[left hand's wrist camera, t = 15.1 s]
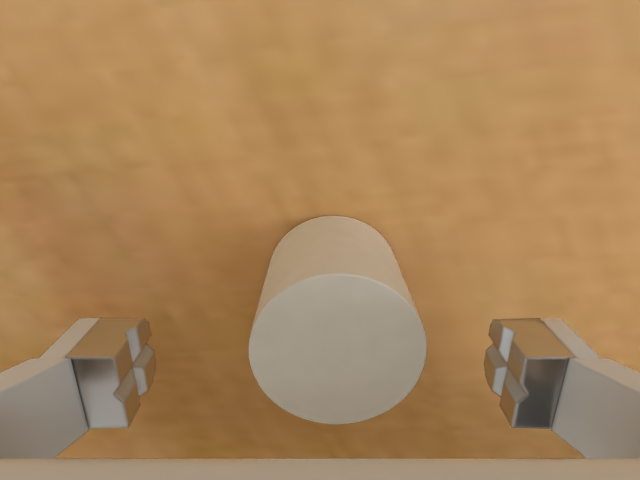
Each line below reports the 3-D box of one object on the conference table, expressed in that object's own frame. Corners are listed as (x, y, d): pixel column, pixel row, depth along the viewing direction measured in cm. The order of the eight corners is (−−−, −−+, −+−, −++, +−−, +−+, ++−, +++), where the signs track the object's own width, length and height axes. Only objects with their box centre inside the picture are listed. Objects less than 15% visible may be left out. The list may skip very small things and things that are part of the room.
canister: (328, 187, 14) (331, 236, 10) (423, 271, 15) (465, 349, 11) (242, 280, 15) (211, 361, 11) (336, 352, 16) (342, 451, 12)
